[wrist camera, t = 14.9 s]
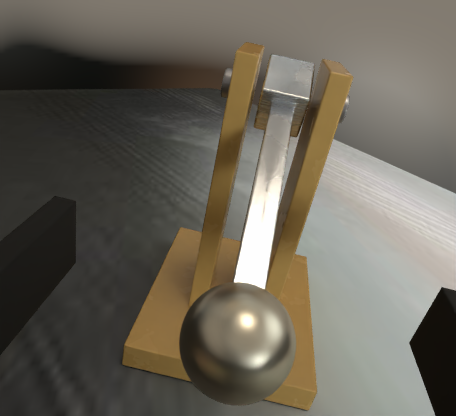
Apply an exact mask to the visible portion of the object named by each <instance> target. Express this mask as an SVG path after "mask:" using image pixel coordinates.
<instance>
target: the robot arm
mask: <svg viewBox="0 0 456 416" xmlns="http://www.w3.org/2000/svg"><path fill="white" fill-rule="evenodd" d="M75 263H76V201H74V200H70V199H66V198H61V197H57V196H54V197H53V198H52V199H51V200H50V201H48V202H47V203H46V204H45V205H44V206H42V207H41V208H40V209H39V210H38V211H36V212H35V213H34V214H33V215H32V216H30V217H29V218H28V219H27V220H26V221H24V222H23V223H22V224H21V225H20V226H18V227H17V228H16V229H15V230H13V231H12V232H11V233H10V234H9V235H7V236H6V237H5V238H4V239H3V240H1V241H0V355H1V354H2V352H3V351H4V350H5V349H6V347H7V346H8V345H9V344H10V343H11V341H12V340H13V339H14V338H15V336H16V335H17V334H18V333H19V331H20V330H21V329H22V328H23V327H24V325H25V324H26V323H27V322H28V320H29V319H30V318H31V317H32V316H33V314H34V313H35V312H36V311H37V309H38V308H39V307H40V306H41V304H42V303H43V302H44V301H45V300H46V298H47V297H48V296H49V295H50V293H51V292H52V291H53V290H54V288H55V287H56V286H57V285H58V284H59V282H60V281H61V280H62V279H63V277H64V276H65V275H66V274H67V273H68V271H69V270H70V269H71V268H72V266H73V265H74V264H75ZM409 344H410V346H411V349H412V352H413V355H414V357H415V360H416V363H417V366H418V368H419V371H420V374H421V377H422V379H423V382H424V385H425V388H426V390H427V393H428V396H429V399H430V401H431V404H432V407H433V410H434V412H435V415H436V416H456V291H455V290H451V289H447V288H443V287H442V288H441V290H440V291H439V293H438V295H437V296H436V298H435V300H434V301H433V303H432V305H431V307H430V308H429V310H428V312H427V313H426V315H425V317H424V319H423V320H422V322H421V324H420V325H419V327H418V329H417V330H416V332H415V334H414V336H413V337H412V339H411V341H410V342H409Z"/></svg>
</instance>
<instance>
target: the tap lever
mask: <svg viewBox="0 0 456 416" xmlns="http://www.w3.org/2000/svg"><path fill="white" fill-rule="evenodd" d="M314 68H315V64H314V63H311V62H307V61H302V60H298V59H293V58H288V57H284V56H280V55H275V54H271V55H270V58H269V62H268V66H267V70H266V74H265V79H264V83H263V87H262V91H261V95H260V100H259V105H258V109H257V114H256V118H255V123H254V128H257V129H261V130H265V131H264V136H263V140H262V145H261V150H260V154H259V159H258V163H257V168H256V173H255V177H254V182H253V186H252V191H251V196H250V200H249V205H248V209H247V214H246V219H245V223H244V228H243V232H242V237H241V242H240V246H239V251H238V255H237V260H236V265H235V269H234V274H233V278H232V282H229V283H224V284H221V285H218V286H215V287H213V288H211V289H209V290H208V291H206V292H205V293H203V294H202V295H201V296H200V297H198V298H197V300H196V301H195V302H194V303H193V304H192V305H191V307H190V308H189V310H188V311H187V313H186V315H185V317H184V320H183V323H182V326H181V331H180V337H179V350H180V356H181V360H182V363H183V367H184V369H185V371H186V373H187V375H188V377H189V378H190V380H191V381H192V383H193V384H194V385H195V386H196V387H197V388H198V389H199V390H200V391H201V392H202V393H203V394H205V395H206V396H208V397H209V398H211V399H213V400H215V401H217V402H220V403H223V404H228V405H238V406H241V405H249V404H253V403H256V402H258V401H261V400H263V399H265V398H267V397H268V396H270V395H271V394H273V393H274V392H275V391H276V390H277V389H278V388H279V387H280V386H281V385H282V384H283V382H284V381H285V379H286V378H287V376H288V375H289V373H290V370H291V368H292V365H293V362H294V358H295V352H296V335H295V330H294V326H293V323H292V320H291V318H290V316H289V314H288V312H287V310H286V309H285V307H284V306H283V305H282V303H281V302H280V301H279V300H278V299H277V298H276V297H275V296H274V295H273V294H271V293H270V292H268V291H267V290H265V289H266V283H267V276H268V270H269V264H270V258H271V252H272V245H273V239H274V233H275V227H276V221H277V214H278V208H279V202H280V196H281V190H282V183H283V177H284V171H285V165H286V159H287V153H288V146H289V140H290V136H292V137H297V136H298V134H299V131H300V128H301V125H302V122H303V120H304V116H305V114H306V111H307V108H308V106H309V103H310V99H311V92H312V84H313V76H314Z"/></svg>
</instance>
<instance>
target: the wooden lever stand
mask: <svg viewBox="0 0 456 416" xmlns="http://www.w3.org/2000/svg"><path fill="white" fill-rule="evenodd" d="M263 51H264V46H262V45H257V44H253V43H249V42H246V43H245V44H243V45H242V46H241V47H240V48H239V49H238V50H237V51H236V54H235V59H234V64H233V69H231V68H227V69H226V71H225V74H224V77H223V82H222V87H221V97H223V98H227V102H226V107H225V112H224V118H223V123H222V128H221V134H220V139H219V144H218V150H217V155H216V160H215V166H214V171H213V177H212V182H211V187H210V193H209V198H208V203H207V209H206V214H205V219H204V225H203V230H202V232H198V231H194V230H190V229H186V228H181V227H180V229H179V231H178V233H177V235H176V237H175V239H174V241H173V243H172V246H171V248H170V250H169V252H168V254H167V256H166V258H165V260H164V262H163V264H162V266H161V269H160V271H159V273H158V275H157V277H156V279H155V281H154V283H153V285H152V287H151V289H150V292H149V294H148V296H147V298H146V300H145V302H144V304H143V306H142V308H141V310H140V312H139V315H138V317H137V319H136V321H135V323H134V325H133V327H132V329H131V331H130V333H129V335H128V338H127V340H126V342H125V344H124V350H123V361H122V364H123V365H126V366H130V367H134V368H138V369H142V370H146V371H150V372H154V373H158V374H162V375H166V376H171V377H175V378H179V379H183V380H187V381H191V380H190V378H189V377H188V375H187V373H186V371H185V369H184V367H183V363H182V360H181V356H180V350H179V337H180V331H181V326H182V323H183V320H184V317H185V315H186V313H187V311H188V310H189V308H190V307H191V305H192V304H193V303H194V302H195V301H196V300H197V298H198V297H200V296H201V295H202V294H203V293H205V292H206V291H208V290H209V289H211V288H213V287H215V286H218V285H221V284H224V283H229V282H232V278H233V274H234V269H235V265H236V260H237V255H238V251H239V246H240V242H241V241H237V240H232V239H228V238H224V237H223V234H224V229H225V225H226V220H227V215H228V211H229V206H230V202H231V197H232V193H233V188H234V184H235V179H236V174H237V170H238V165H239V161H240V156H241V152H242V147H243V142H244V138H245V133H246V129H247V124H248V120H249V115H250V110H251V106H252V101H253V97H254V92H255V88H256V83H257V78H258V74H259V69H260V64H261V60H262V55H263ZM352 80H353V76H352V75H351V74H350V73H349V72H348V71H347V70H346V69H345V68H344V67H343V65H342V64H341V63H339V62H335V61H330V60H325V59H322V61H321V64H320V67H319V71H318V75H317V78H316V81H315V85H314V88H313V92H312V95H311V99H310V103H309V106H308V109H307V112H306V116H305V119H304V123H303V126H302V130H301V133H300V137H299V140H298V144H297V147H296V151H295V154H294V158H293V161H292V164H291V168H290V171H289V175H288V178H287V182H286V185H285V189H284V192H283V196H282V199H281V203H280V206H279V209H278V214H277V221H276V227H275V233H274V239H273V245H272V252H271V258H270V264H269V270H268V276H267V283H266V289H265V290H267V291H268V292H270V293H271V294H273V295H274V296H275V297H276V298H277V299H278V300H279V301H280V302H281V303H282V305H283V306H284V307H285V309H286V310H287V312H288V314H289V316H290V318H291V320H292V323H293V326H294V330H295V335H296V352H295V358H294V362H293V365H292V368H291V370H290V373H289V375H288V376H287V378H286V379H285V381H284V382H283V384H282V385H281V386H280V387H279V388H278V389H277V390H276V391H275V392H274V393H273V394H271V395H270V396H268V397H267V398H265V399H264V400H268V401H272V402H276V403H280V404H284V405H288V406H292V407H296V408H300V409H304V410H309V409H310V407H311V404H312V402H313V400H314V398H315V396H316V394H317V385H316V373H315V360H314V347H313V335H312V322H311V309H310V297H309V284H308V271H307V258H306V257H305V256H300V255H296V254H295V252H296V249H297V246H298V243H299V240H300V237H301V234H302V231H303V228H304V225H305V222H306V219H307V216H308V213H309V210H310V207H311V204H312V201H313V198H314V195H315V192H316V189H317V186H318V183H319V180H320V177H321V174H322V171H323V168H324V165H325V162H326V159H327V156H328V153H329V150H330V147H331V144H332V141H333V138H334V134H335V132H336V129H337V126H338V124H340V123H342V122H343V120H344V118H345V115H346V113H347V110H348V106H349V100H350V97H349V95H348V92H349V89H350V86H351V83H352ZM191 382H192V381H191Z"/></svg>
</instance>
